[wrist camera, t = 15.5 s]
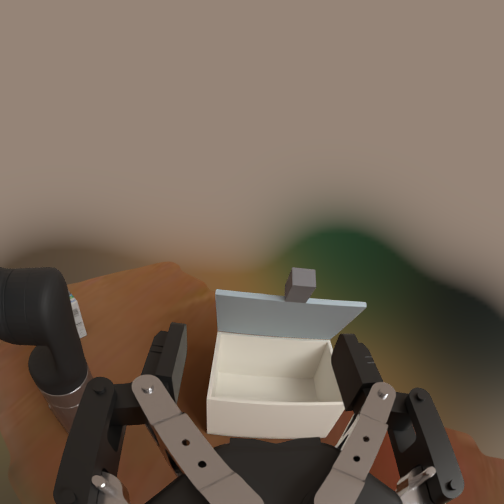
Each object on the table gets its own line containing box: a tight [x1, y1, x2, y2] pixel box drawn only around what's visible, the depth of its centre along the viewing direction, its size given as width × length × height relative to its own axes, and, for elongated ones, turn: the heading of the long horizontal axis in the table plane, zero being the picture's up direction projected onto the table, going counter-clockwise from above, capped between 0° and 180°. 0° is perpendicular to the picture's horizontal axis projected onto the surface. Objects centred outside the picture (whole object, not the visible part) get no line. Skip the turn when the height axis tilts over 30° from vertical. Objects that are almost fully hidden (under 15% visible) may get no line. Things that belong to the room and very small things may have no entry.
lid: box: [215, 268, 366, 339], centre depth 44 cm, size 22×22×2 cm
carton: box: [207, 332, 345, 439], centre depth 47 cm, size 22×16×12 cm
